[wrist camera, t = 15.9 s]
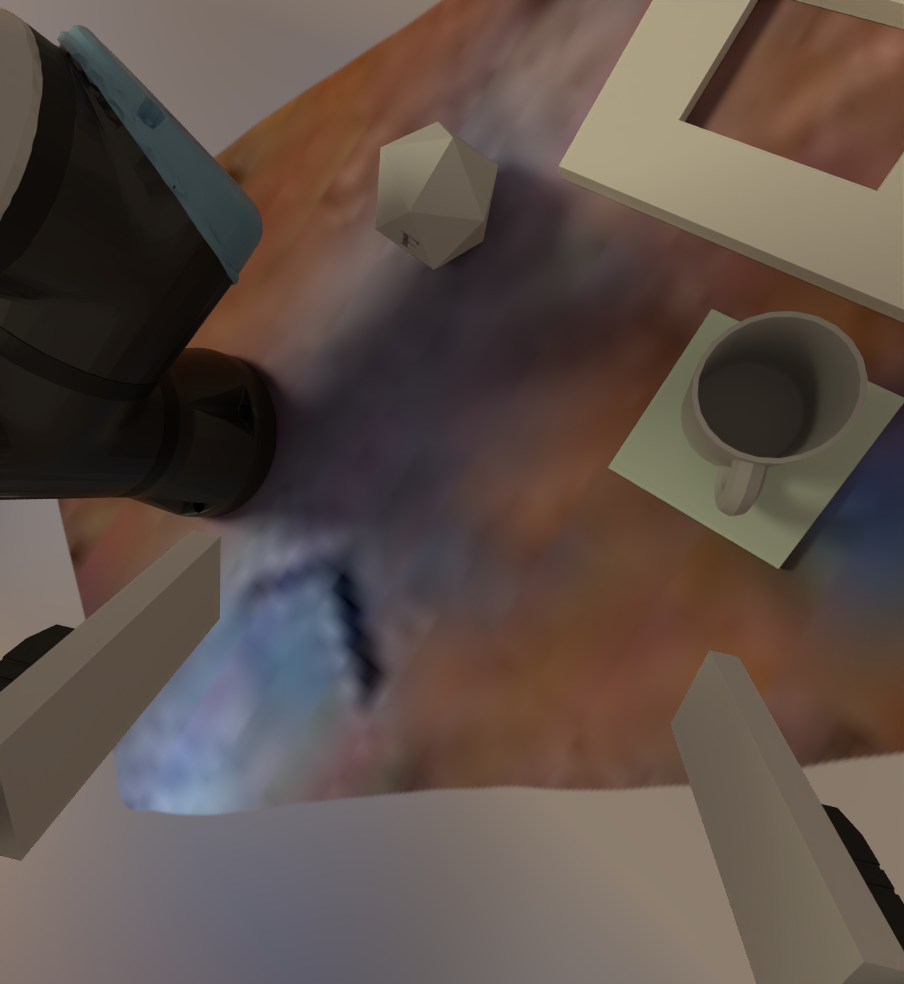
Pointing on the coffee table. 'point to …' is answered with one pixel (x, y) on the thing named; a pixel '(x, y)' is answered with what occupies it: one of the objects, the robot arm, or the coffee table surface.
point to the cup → (771, 399)
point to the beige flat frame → (736, 161)
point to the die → (434, 194)
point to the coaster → (691, 479)
